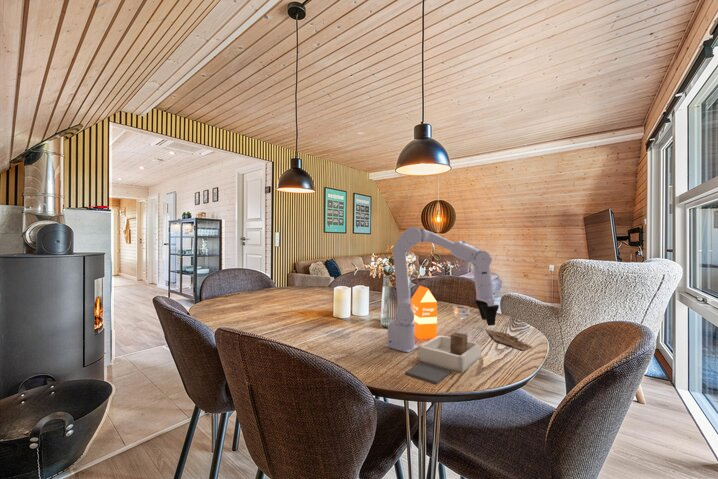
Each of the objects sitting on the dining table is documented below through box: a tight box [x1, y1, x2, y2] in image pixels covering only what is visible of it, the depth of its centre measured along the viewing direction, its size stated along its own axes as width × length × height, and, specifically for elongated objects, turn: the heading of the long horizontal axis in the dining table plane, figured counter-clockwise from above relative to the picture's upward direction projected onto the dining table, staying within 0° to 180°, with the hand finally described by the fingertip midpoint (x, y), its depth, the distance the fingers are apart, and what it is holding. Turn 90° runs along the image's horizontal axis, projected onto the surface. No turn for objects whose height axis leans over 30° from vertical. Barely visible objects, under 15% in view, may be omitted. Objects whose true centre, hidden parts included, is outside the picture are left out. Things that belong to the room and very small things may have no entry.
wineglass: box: [452, 304, 471, 338], centre depth 131 cm, size 7×7×12 cm
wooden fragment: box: [485, 329, 533, 352], centre depth 127 cm, size 26×11×1 cm, turn 4°
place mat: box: [404, 361, 453, 385], centre depth 94 cm, size 10×10×1 cm
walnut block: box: [450, 332, 468, 355], centre depth 104 cm, size 4×4×6 cm
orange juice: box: [410, 285, 438, 340], centre depth 131 cm, size 8×9×20 cm
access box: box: [417, 334, 482, 373], centre depth 106 cm, size 15×16×4 cm
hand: (488, 322), depth 112 cm, fingers open, 7 cm apart
